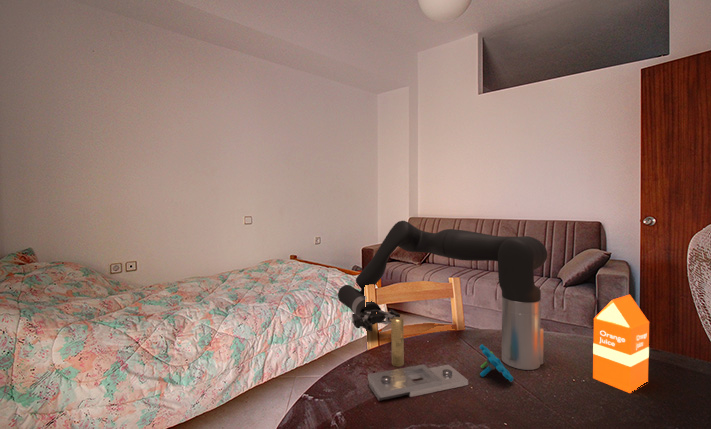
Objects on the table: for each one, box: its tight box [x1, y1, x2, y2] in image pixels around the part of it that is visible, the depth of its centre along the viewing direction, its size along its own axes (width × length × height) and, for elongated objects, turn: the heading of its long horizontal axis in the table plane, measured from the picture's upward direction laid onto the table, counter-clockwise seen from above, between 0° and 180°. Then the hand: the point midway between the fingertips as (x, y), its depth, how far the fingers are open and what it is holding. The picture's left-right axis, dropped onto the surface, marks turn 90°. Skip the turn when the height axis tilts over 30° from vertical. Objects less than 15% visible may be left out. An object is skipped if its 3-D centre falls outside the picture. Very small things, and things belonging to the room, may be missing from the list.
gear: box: [479, 343, 514, 383], centre depth 84 cm, size 11×6×10 cm
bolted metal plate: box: [367, 364, 469, 402], centre depth 80 cm, size 22×8×3 cm, turn 108°
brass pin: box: [390, 316, 405, 368], centre depth 90 cm, size 3×3×12 cm
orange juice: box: [592, 294, 650, 394], centre depth 81 cm, size 8×9×20 cm
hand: (385, 326), depth 99 cm, fingers open, 8 cm apart
